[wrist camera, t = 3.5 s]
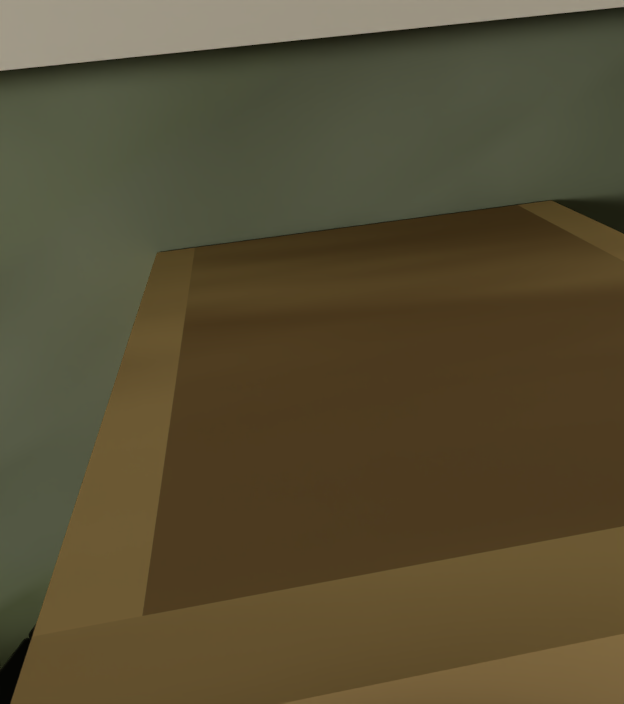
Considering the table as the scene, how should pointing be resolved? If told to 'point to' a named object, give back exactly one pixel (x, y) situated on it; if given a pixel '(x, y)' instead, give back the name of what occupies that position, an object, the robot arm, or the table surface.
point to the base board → (226, 23)
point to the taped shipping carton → (357, 475)
